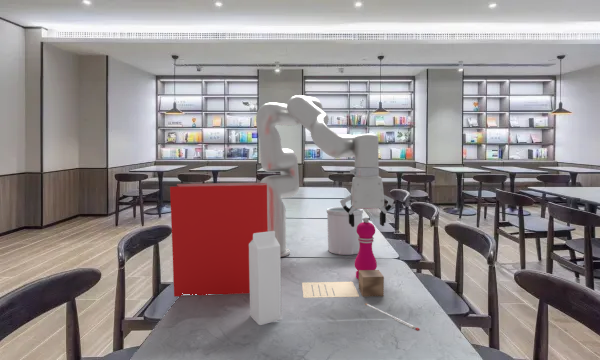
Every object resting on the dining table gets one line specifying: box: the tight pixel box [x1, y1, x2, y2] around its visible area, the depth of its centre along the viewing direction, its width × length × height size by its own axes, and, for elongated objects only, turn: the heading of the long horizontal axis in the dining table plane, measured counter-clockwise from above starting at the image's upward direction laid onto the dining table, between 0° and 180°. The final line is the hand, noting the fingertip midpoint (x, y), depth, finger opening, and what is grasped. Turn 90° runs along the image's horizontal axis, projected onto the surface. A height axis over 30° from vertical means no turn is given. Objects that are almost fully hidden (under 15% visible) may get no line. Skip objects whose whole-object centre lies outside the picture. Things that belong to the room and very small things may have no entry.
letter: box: [301, 281, 360, 299], centre depth 113 cm, size 16×12×1 cm
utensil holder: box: [326, 206, 364, 256], centre depth 155 cm, size 15×15×18 cm
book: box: [169, 182, 268, 297], centre depth 113 cm, size 27×8×32 cm, turn 95°
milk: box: [249, 231, 282, 326], centre depth 94 cm, size 6×6×22 cm
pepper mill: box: [354, 217, 378, 280], centre depth 122 cm, size 7×7×20 cm
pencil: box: [365, 303, 420, 331], centre depth 95 cm, size 1×19×1 cm, turn 34°
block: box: [358, 269, 385, 298], centre depth 110 cm, size 6×6×6 cm
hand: (367, 225), depth 121 cm, fingers open, 9 cm apart
